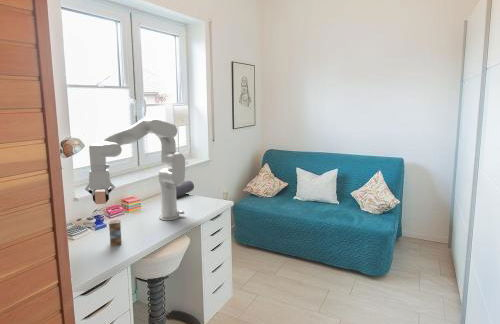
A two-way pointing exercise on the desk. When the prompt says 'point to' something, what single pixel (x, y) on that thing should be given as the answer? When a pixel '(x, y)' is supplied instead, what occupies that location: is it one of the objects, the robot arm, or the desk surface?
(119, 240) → the tower
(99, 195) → the terracotta cube
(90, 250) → the desk surface
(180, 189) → the bluetooth speaker
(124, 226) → the desk surface
